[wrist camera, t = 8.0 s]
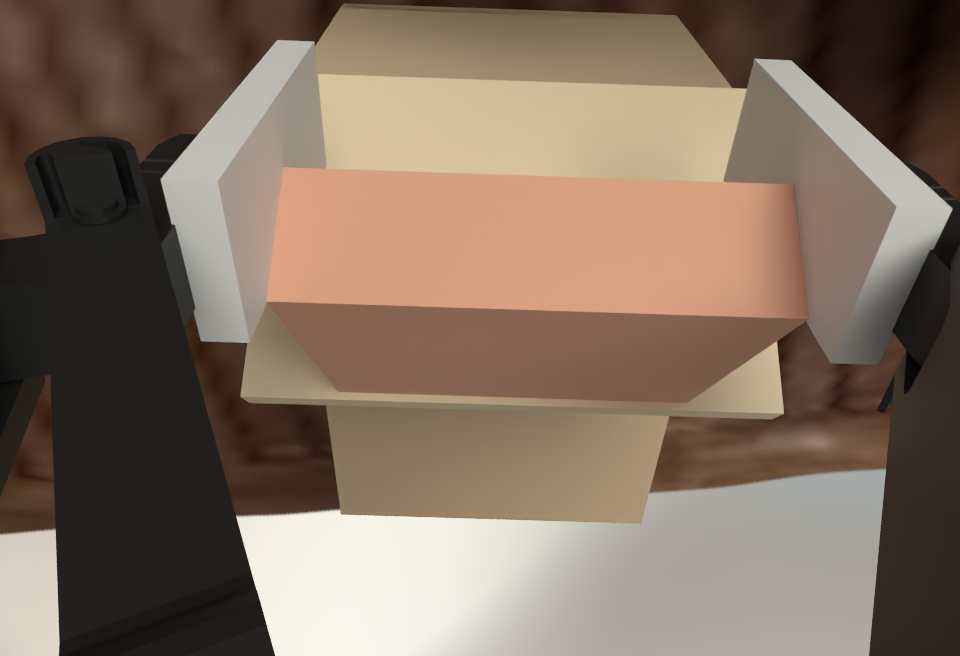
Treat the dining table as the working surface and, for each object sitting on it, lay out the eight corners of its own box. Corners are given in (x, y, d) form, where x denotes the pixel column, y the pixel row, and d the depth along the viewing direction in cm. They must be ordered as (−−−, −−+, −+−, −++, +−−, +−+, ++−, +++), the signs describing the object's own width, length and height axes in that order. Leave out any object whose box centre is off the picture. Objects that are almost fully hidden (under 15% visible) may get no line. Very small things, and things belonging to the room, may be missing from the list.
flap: (249, 402, 19) (112, 308, 12) (288, 89, 22) (198, -145, 15) (771, 419, 19) (961, 335, 12) (742, 104, 22) (879, -121, 15)
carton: (372, 366, 42) (341, 517, 34) (343, 3, 30) (283, 94, 22) (612, 374, 43) (642, 526, 34) (679, 15, 30) (753, 110, 22)
